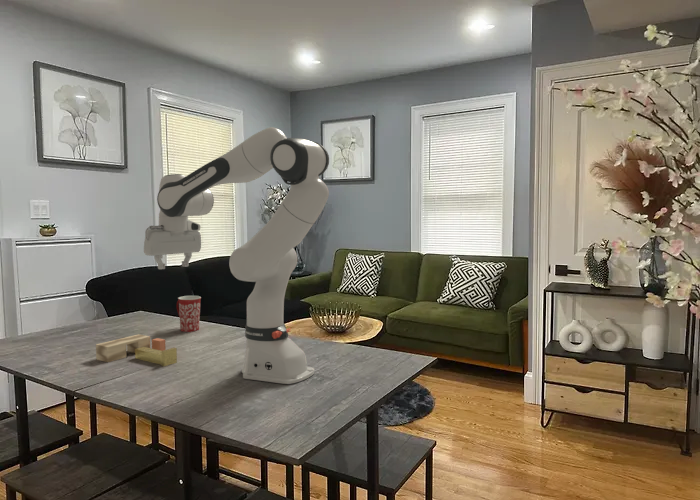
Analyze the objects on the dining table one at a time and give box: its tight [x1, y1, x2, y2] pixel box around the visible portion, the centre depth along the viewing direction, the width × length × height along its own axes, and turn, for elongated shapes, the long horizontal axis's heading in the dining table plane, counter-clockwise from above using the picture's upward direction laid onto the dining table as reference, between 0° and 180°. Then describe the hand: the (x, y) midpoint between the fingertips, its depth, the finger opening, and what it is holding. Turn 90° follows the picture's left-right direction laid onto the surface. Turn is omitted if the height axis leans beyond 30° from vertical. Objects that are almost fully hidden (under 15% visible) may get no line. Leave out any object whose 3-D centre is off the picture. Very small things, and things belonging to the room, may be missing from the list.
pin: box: [134, 347, 178, 367], centre depth 158 cm, size 15×5×5 cm, turn 60°
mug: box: [176, 295, 202, 333], centre depth 202 cm, size 13×9×14 cm
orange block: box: [151, 337, 167, 351], centre depth 169 cm, size 4×2×4 cm, turn 60°
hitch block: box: [95, 334, 151, 363], centre depth 165 cm, size 6×16×5 cm, turn 150°
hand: (173, 267), depth 159 cm, fingers open, 8 cm apart
